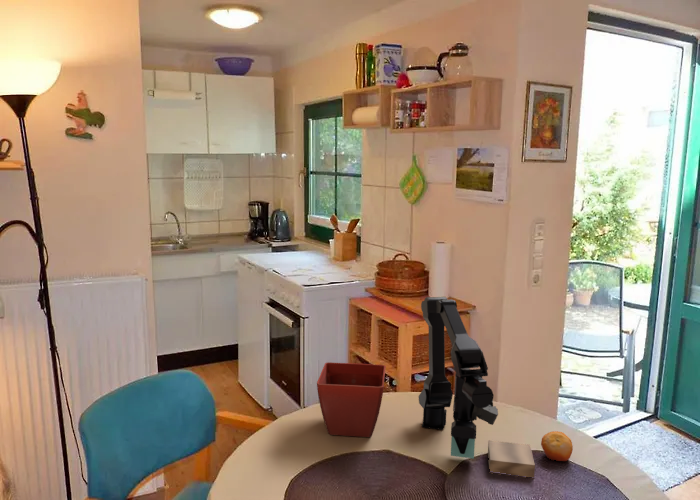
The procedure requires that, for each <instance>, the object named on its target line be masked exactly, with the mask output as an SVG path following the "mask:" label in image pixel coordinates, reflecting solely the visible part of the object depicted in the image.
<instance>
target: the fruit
mask: <svg viewBox="0 0 700 500" xmlns="http://www.w3.org/2000/svg"><path fill="white" fill-rule="evenodd" d="M540 445H541V449H542V451H543V452H544V454H545V457H546V458H547V459H548V458H549V459H548V460H550V459H551V461H554V460H556V462H567V461H569V460H570V459H571V456H572V453H573V449H574V447H573V446H574V445H573V442H572V439H571V438H570V437H569V436H568V435H567V434H565V433H564V432H562V431H556V430H554V431H550V432H549V431H548V432H547V433H546V434H544V435H543V436H542V438H541V442H540Z"/></svg>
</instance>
